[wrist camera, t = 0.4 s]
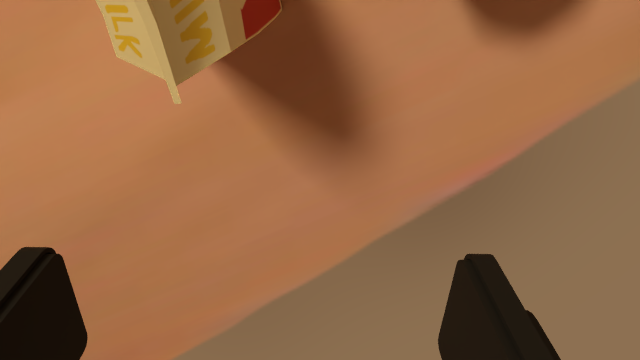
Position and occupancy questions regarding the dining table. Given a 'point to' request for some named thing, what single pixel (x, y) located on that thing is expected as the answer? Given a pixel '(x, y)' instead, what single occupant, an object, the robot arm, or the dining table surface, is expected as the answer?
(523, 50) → the dining table surface
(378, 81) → the dining table surface
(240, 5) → the milk carton
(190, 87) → the dining table surface
